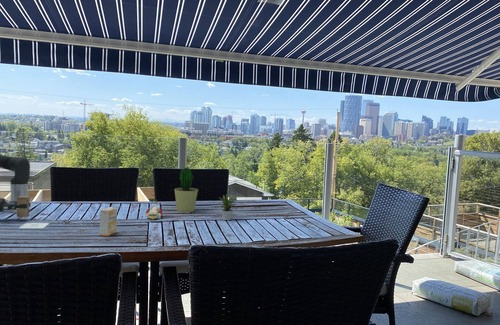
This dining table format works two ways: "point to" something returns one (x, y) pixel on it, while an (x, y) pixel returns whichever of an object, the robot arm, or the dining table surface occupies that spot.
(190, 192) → the potted cactus
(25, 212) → the walnut block
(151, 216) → the cat figure
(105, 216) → the supplement box
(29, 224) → the card
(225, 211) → the house plant
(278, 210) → the dining table surface
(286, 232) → the dining table surface
